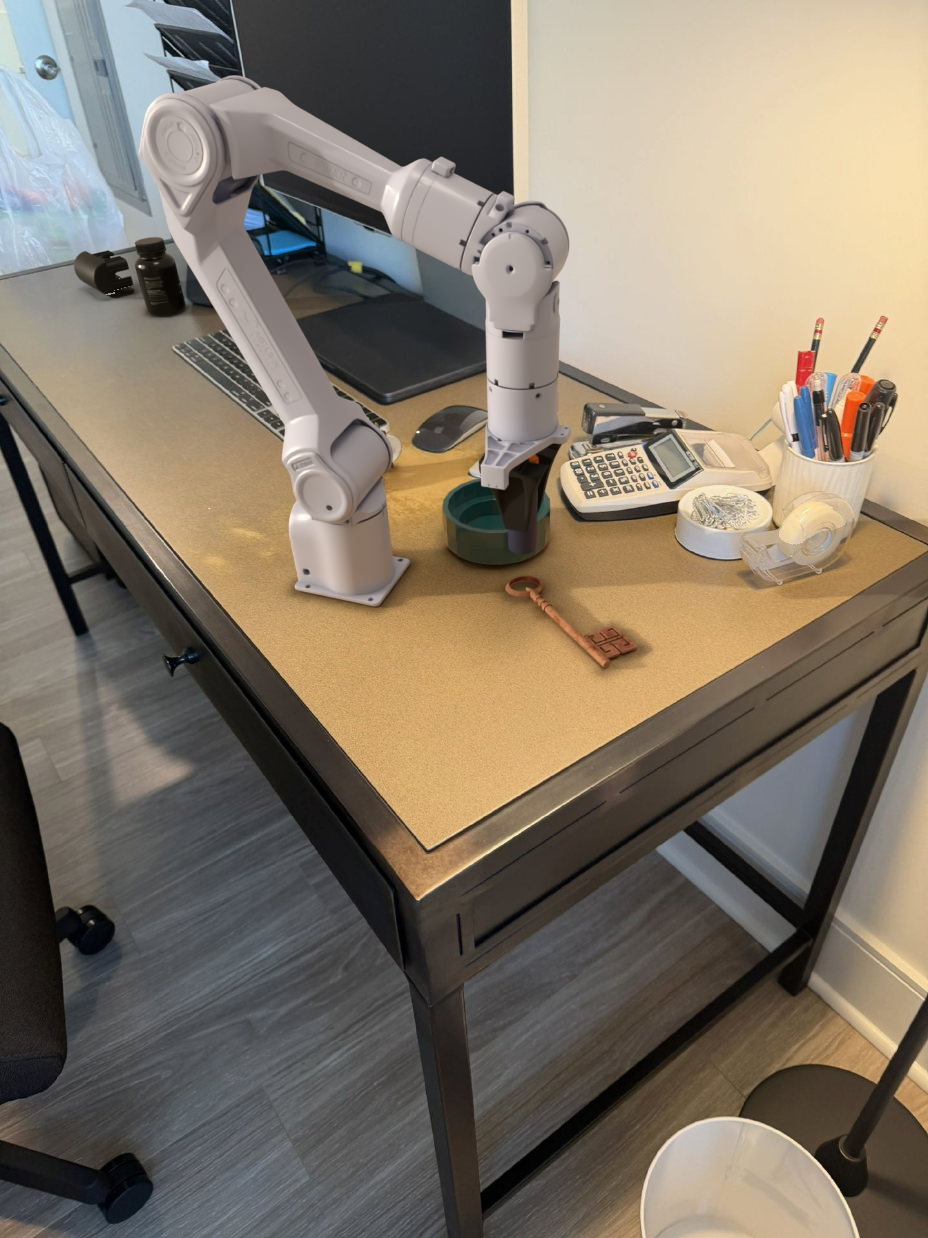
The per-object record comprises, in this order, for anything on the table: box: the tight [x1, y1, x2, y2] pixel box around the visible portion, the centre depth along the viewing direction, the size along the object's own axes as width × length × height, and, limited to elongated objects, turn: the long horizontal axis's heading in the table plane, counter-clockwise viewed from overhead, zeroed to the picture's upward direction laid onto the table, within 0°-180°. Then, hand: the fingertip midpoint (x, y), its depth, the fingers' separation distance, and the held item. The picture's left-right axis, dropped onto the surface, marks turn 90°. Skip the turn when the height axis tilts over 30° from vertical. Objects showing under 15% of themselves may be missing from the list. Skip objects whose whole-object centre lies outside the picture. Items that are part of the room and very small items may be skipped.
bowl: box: [441, 477, 551, 566], centre depth 91 cm, size 11×11×4 cm
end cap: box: [73, 250, 135, 299], centre depth 162 cm, size 10×7×7 cm
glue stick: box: [508, 455, 539, 554], centre depth 76 cm, size 3×3×9 cm
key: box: [505, 575, 638, 669], centre depth 81 cm, size 6×1×15 cm
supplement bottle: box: [134, 236, 187, 317], centre depth 150 cm, size 7×7×12 cm
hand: (522, 519), depth 77 cm, fingers closed on glue stick, 2 cm apart
